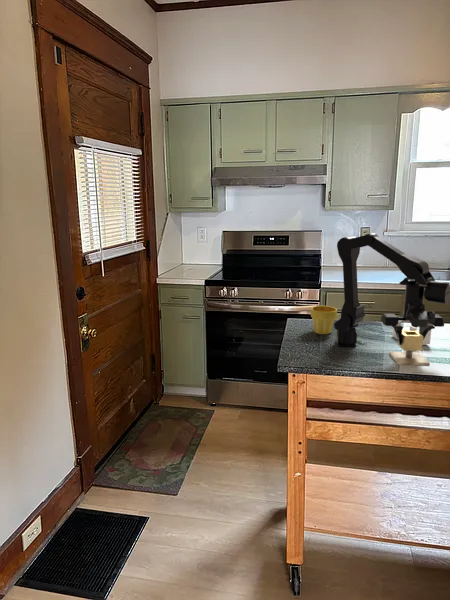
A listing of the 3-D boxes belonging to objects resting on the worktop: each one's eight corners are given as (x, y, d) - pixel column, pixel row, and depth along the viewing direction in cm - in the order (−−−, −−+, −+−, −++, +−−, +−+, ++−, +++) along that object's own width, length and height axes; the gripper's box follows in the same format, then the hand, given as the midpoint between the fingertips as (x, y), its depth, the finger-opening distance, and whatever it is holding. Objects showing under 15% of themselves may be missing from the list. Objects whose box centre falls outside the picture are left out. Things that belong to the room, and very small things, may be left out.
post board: (398, 364, 147) (399, 347, 145) (389, 354, 156) (390, 338, 155) (429, 365, 146) (431, 348, 145) (418, 354, 156) (420, 338, 154)
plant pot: (338, 335, 177) (340, 311, 174) (312, 335, 177) (313, 311, 175) (332, 328, 187) (334, 305, 185) (308, 328, 187) (308, 305, 185)
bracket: (429, 346, 165) (431, 326, 163) (412, 347, 163) (414, 328, 162) (408, 335, 177) (410, 317, 175) (392, 337, 176) (394, 318, 174)
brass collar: (403, 350, 148) (404, 335, 146) (397, 344, 153) (398, 330, 152) (421, 350, 147) (423, 336, 146) (415, 344, 153) (416, 330, 152)
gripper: (392, 304, 139) (388, 352, 143) (454, 305, 138) (448, 353, 142) (382, 296, 150) (378, 341, 154) (439, 297, 149) (434, 342, 153)
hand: (409, 344), depth 150 cm, fingers closed on brass collar, 6 cm apart
